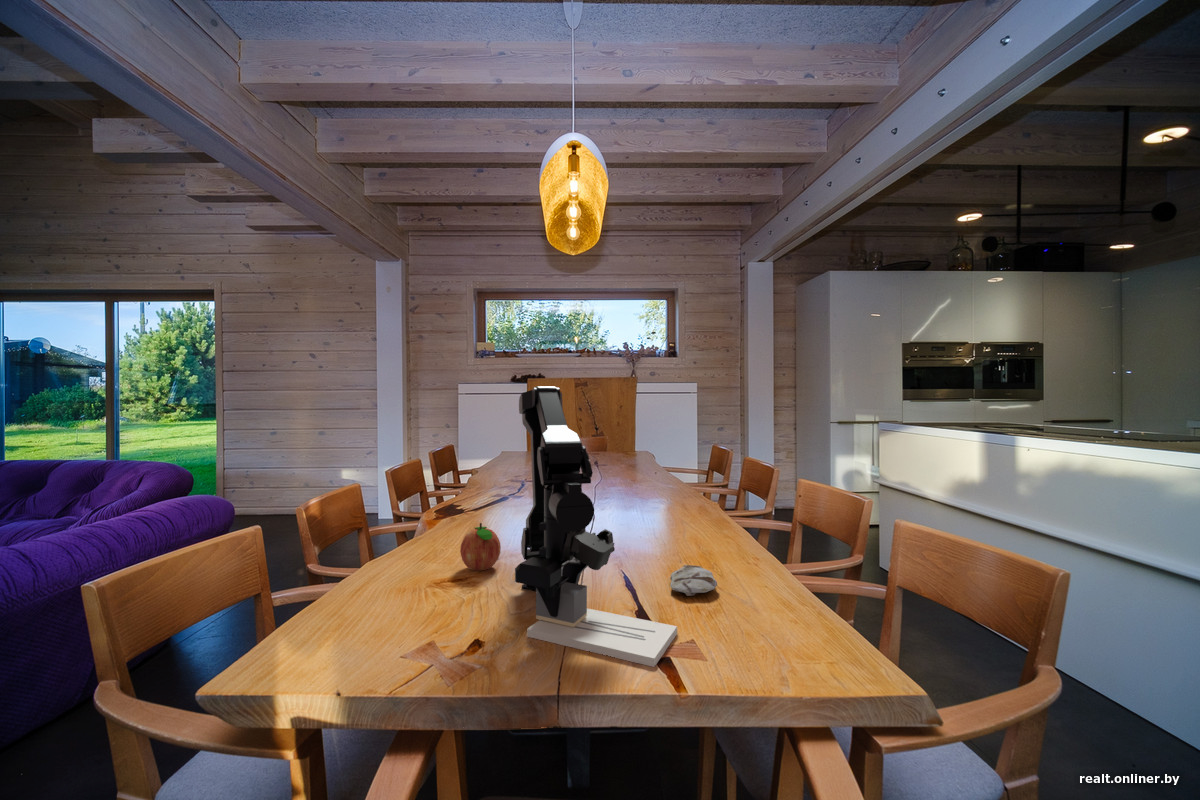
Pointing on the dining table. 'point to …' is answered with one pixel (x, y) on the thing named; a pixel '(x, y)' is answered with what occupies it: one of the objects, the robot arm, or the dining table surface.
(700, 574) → the stone
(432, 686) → the dining table surface
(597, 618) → the board
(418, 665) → the dining table surface
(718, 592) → the dining table surface
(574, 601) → the block
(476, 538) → the fruit
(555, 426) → the robot arm
